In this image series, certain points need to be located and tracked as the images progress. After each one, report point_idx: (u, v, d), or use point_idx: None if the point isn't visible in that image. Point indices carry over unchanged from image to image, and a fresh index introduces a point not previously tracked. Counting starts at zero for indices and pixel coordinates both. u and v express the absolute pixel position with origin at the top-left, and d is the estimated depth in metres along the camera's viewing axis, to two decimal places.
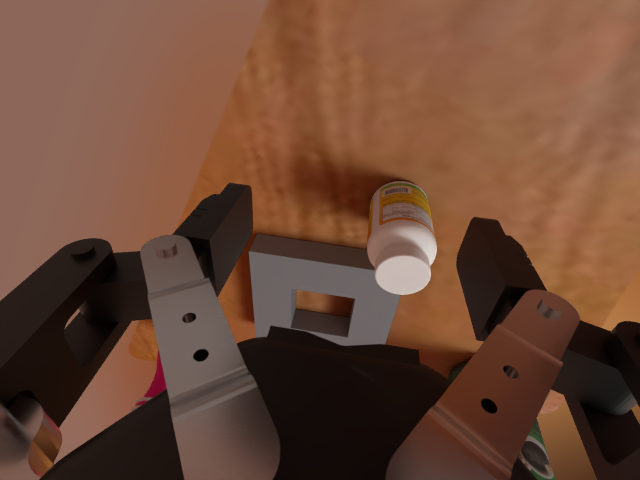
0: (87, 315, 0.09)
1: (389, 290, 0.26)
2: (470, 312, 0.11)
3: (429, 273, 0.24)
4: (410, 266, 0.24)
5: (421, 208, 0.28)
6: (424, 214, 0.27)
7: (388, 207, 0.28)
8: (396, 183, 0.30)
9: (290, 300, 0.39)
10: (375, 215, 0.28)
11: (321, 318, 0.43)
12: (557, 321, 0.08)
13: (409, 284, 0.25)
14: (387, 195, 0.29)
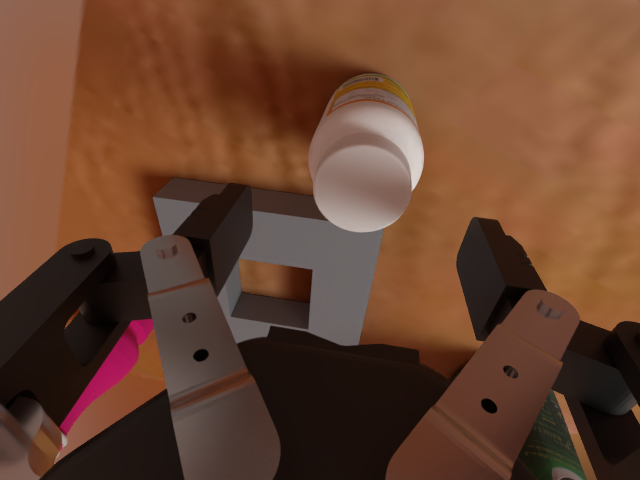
0: (87, 315, 0.09)
1: (341, 224, 0.15)
2: (470, 312, 0.11)
3: (409, 184, 0.13)
4: (374, 170, 0.13)
5: (398, 97, 0.17)
6: (402, 103, 0.16)
7: (343, 95, 0.17)
8: (362, 75, 0.19)
9: None
10: (325, 112, 0.17)
11: (275, 304, 0.32)
12: (557, 321, 0.08)
13: (374, 210, 0.14)
14: (346, 87, 0.18)
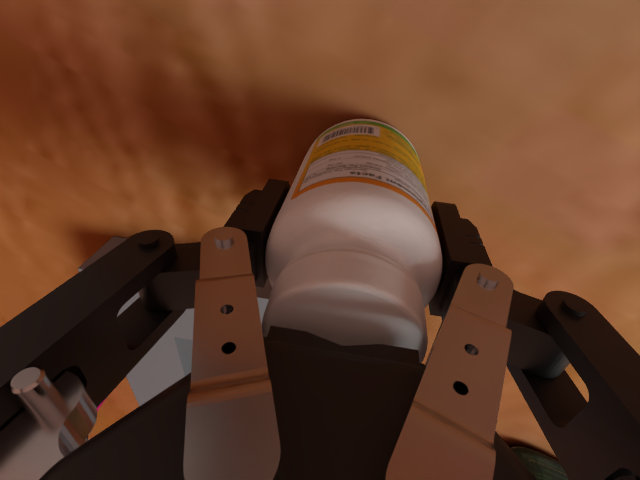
0: (144, 301, 0.09)
1: None
2: None
3: (423, 339, 0.08)
4: (363, 319, 0.08)
5: (402, 163, 0.11)
6: (409, 176, 0.11)
7: (320, 160, 0.11)
8: (351, 121, 0.14)
9: (178, 356, 0.22)
10: (294, 182, 0.12)
11: None
12: (491, 290, 0.08)
13: None
14: (326, 141, 0.13)
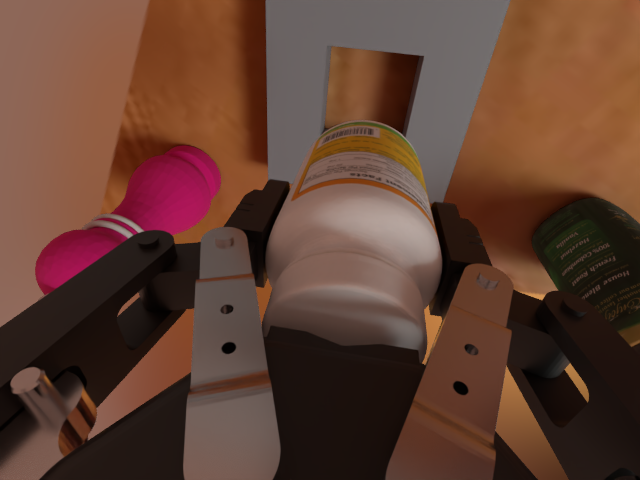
0: (144, 301, 0.09)
1: None
2: None
3: (423, 341, 0.08)
4: (363, 320, 0.08)
5: (402, 164, 0.11)
6: (408, 177, 0.11)
7: (321, 161, 0.11)
8: (351, 123, 0.14)
9: (323, 75, 0.26)
10: (294, 183, 0.12)
11: None
12: (491, 290, 0.08)
13: None
14: (326, 143, 0.13)
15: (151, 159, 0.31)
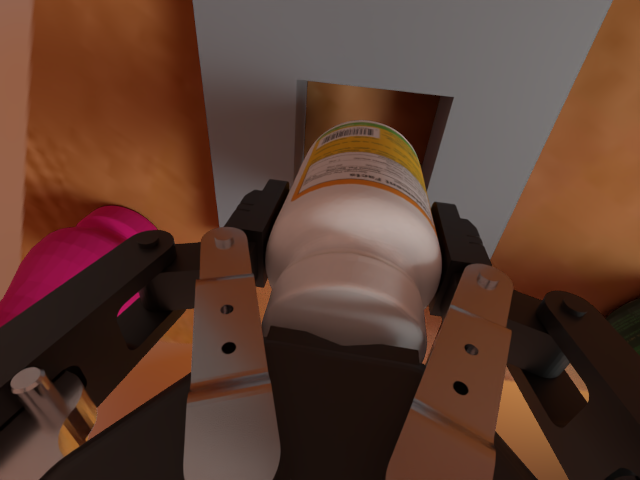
0: (144, 301, 0.09)
1: None
2: None
3: (423, 341, 0.08)
4: (363, 321, 0.08)
5: (402, 165, 0.11)
6: (408, 177, 0.11)
7: (320, 162, 0.11)
8: (351, 123, 0.14)
9: (293, 124, 0.17)
10: (294, 183, 0.12)
11: None
12: (491, 290, 0.08)
13: None
14: (326, 143, 0.13)
15: (52, 236, 0.21)
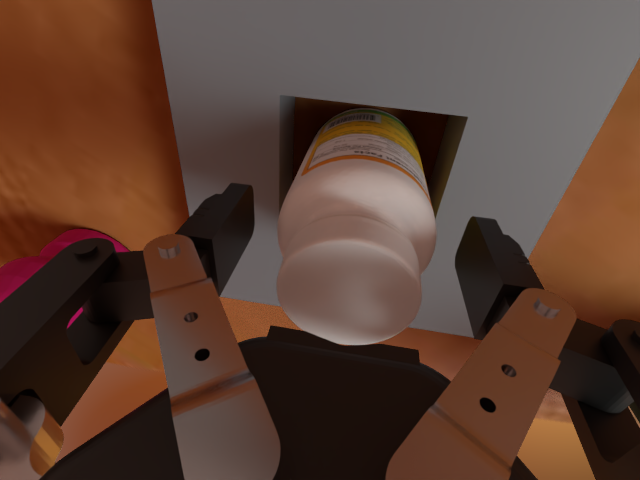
0: (90, 314, 0.09)
1: (319, 334, 0.10)
2: (468, 311, 0.11)
3: (418, 292, 0.09)
4: (366, 273, 0.09)
5: (401, 146, 0.13)
6: (407, 156, 0.12)
7: (327, 142, 0.12)
8: (354, 110, 0.15)
9: (277, 146, 0.14)
10: (303, 163, 0.13)
11: None
12: (554, 319, 0.08)
13: (366, 320, 0.10)
14: (332, 127, 0.14)
15: (6, 268, 0.19)
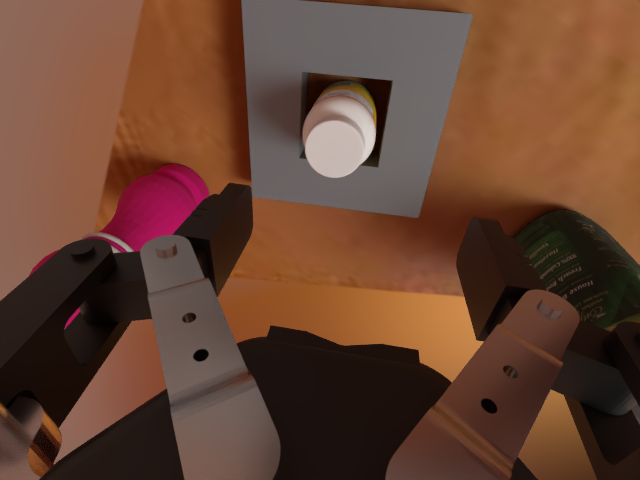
0: (87, 315, 0.09)
1: (322, 172, 0.24)
2: (470, 312, 0.11)
3: (362, 144, 0.22)
4: (341, 136, 0.22)
5: (361, 95, 0.26)
6: (363, 99, 0.25)
7: (325, 94, 0.26)
8: (339, 81, 0.29)
9: (299, 99, 0.28)
10: None
11: None
12: (557, 321, 0.08)
13: (342, 162, 0.23)
14: (328, 89, 0.27)
15: (140, 178, 0.32)
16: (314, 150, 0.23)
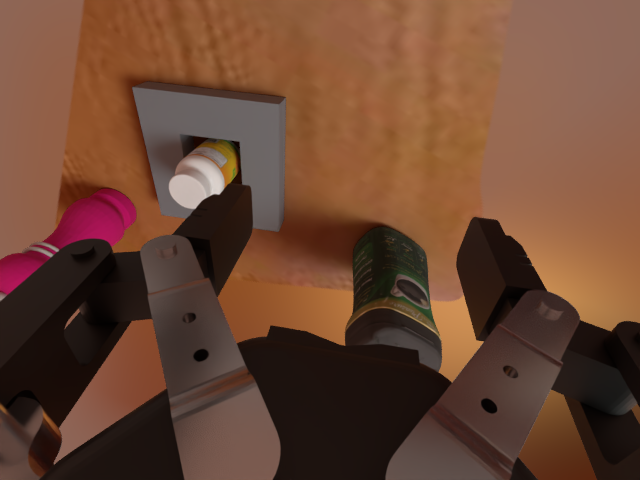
0: (87, 315, 0.09)
1: (183, 205, 0.36)
2: (470, 312, 0.11)
3: (203, 189, 0.35)
4: (189, 183, 0.35)
5: (218, 151, 0.38)
6: (217, 154, 0.38)
7: (194, 150, 0.38)
8: None
9: (181, 150, 0.40)
10: None
11: None
12: (557, 321, 0.08)
13: (194, 199, 0.36)
14: (200, 144, 0.40)
15: (78, 201, 0.44)
16: (175, 191, 0.35)
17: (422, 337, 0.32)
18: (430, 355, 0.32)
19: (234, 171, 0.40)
